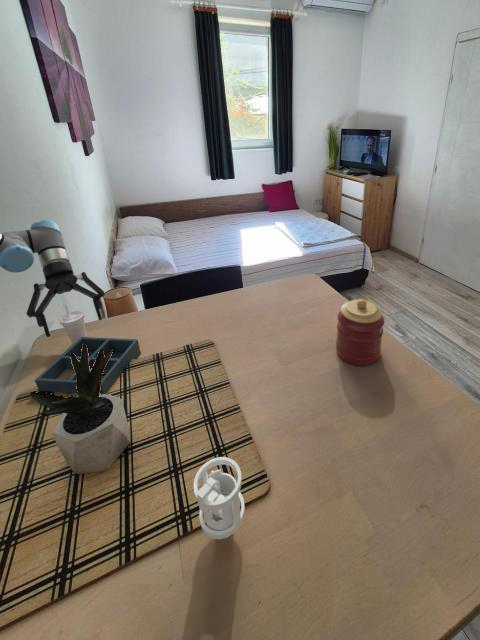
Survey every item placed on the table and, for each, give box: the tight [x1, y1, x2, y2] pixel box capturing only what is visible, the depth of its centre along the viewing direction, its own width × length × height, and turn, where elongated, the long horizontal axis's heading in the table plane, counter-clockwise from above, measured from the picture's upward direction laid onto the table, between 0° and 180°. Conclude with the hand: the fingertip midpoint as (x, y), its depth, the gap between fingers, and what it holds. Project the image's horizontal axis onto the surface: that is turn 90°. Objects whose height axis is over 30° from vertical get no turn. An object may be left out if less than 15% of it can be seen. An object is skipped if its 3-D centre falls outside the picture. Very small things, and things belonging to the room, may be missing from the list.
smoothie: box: [58, 304, 87, 345], centre depth 99 cm, size 6×6×14 cm
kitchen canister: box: [335, 298, 385, 367], centre depth 93 cm, size 13×13×18 cm
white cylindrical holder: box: [193, 456, 246, 540], centre depth 51 cm, size 7×7×15 cm
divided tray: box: [34, 336, 142, 395], centre depth 88 cm, size 17×17×5 cm
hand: (75, 327), depth 98 cm, fingers open, 13 cm apart
